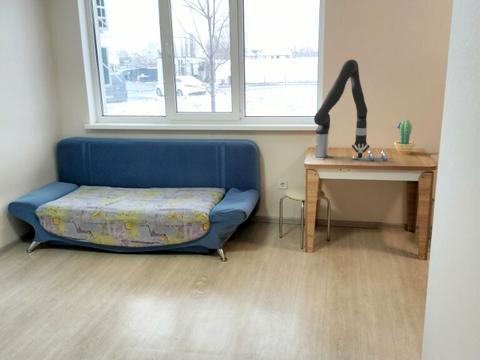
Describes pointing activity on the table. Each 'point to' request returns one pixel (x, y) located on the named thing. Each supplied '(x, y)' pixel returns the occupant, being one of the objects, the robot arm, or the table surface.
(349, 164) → the table surface
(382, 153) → the spacer back right
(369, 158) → the mat
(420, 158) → the table surface
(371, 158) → the cylinder
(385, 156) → the cylinder
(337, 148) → the table surface
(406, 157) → the table surface
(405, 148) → the potted cactus
